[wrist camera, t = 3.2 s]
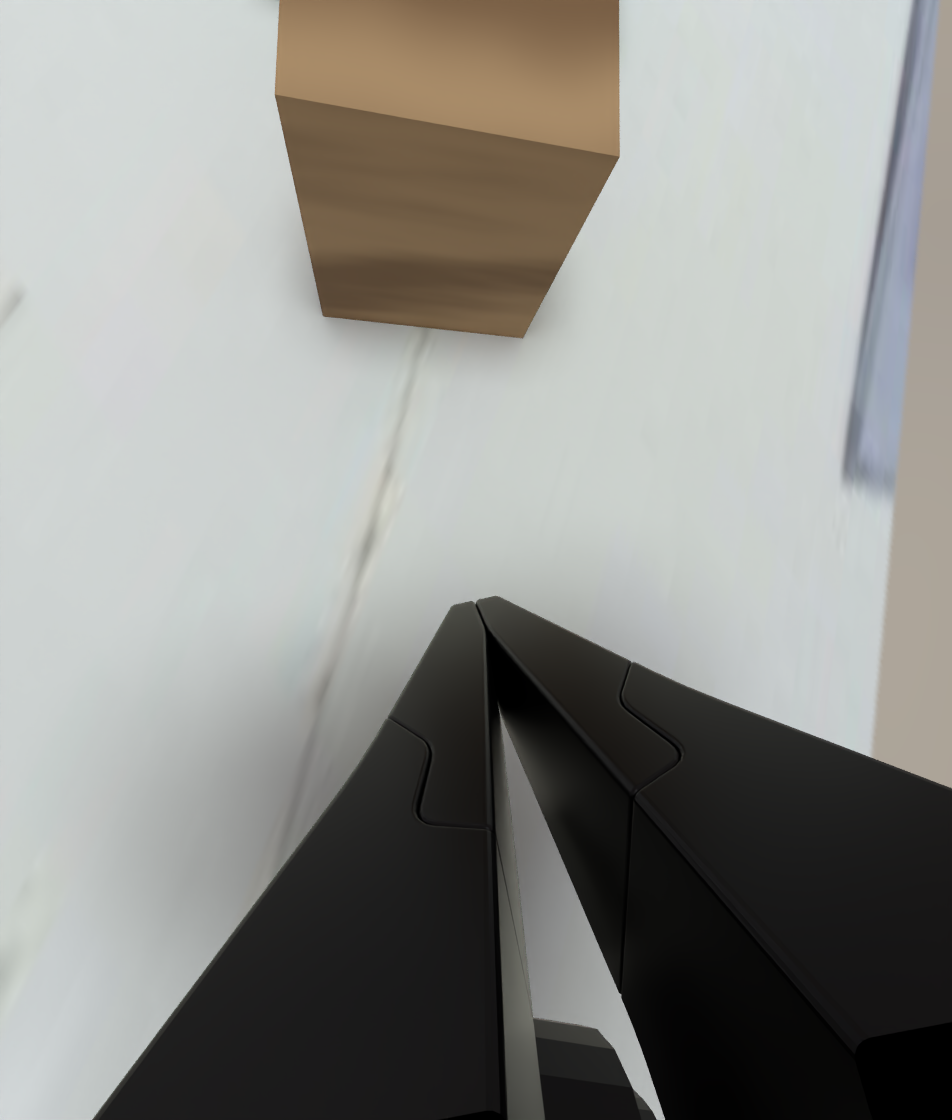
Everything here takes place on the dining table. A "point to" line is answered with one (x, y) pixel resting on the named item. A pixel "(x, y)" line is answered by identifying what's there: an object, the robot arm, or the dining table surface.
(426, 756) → the robot arm
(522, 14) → the rectangular block
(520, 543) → the dining table surface
